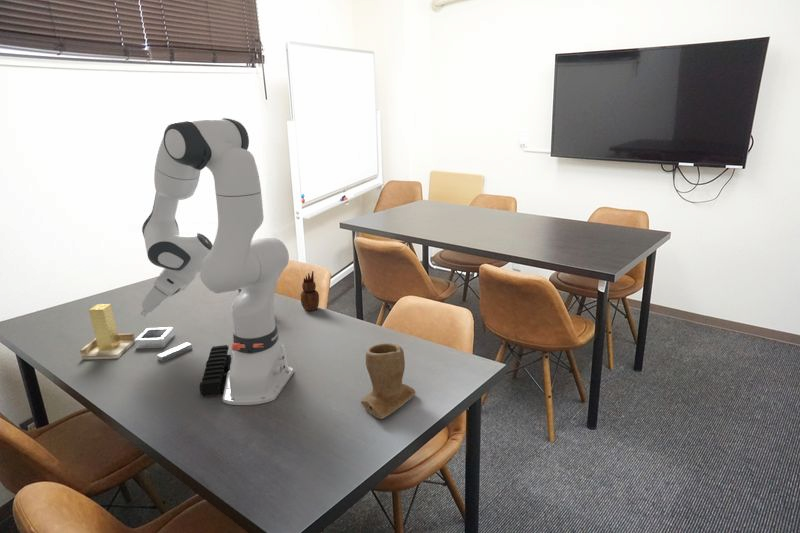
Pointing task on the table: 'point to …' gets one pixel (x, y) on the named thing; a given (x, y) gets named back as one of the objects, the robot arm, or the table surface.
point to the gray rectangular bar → (174, 351)
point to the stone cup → (386, 380)
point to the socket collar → (149, 335)
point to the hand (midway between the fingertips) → (150, 308)
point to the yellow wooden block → (104, 326)
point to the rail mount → (215, 371)
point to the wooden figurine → (309, 294)
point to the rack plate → (93, 353)
